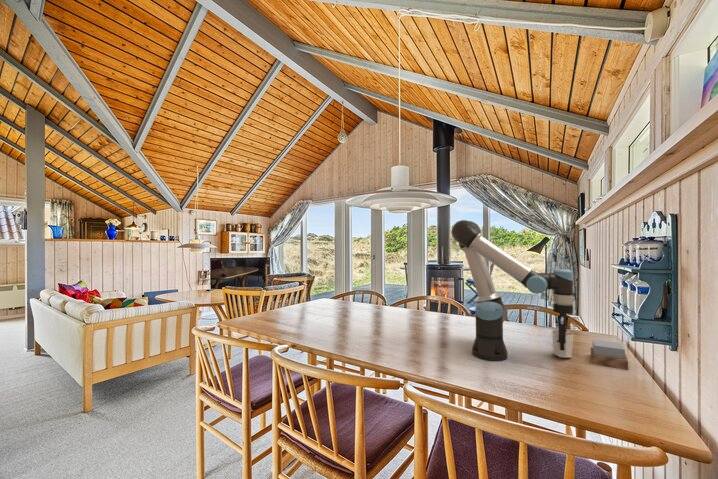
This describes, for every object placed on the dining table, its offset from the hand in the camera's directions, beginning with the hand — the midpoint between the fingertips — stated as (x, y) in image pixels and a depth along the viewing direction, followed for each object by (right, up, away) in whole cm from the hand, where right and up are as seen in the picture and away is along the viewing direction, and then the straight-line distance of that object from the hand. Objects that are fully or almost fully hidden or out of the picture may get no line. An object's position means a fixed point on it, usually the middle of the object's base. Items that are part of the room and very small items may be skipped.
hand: (562, 354), depth 141 cm
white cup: (0, -1, 0) cm, 1 cm away
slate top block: (+16, +3, -6) cm, 17 cm away
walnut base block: (+16, -1, -6) cm, 17 cm away
